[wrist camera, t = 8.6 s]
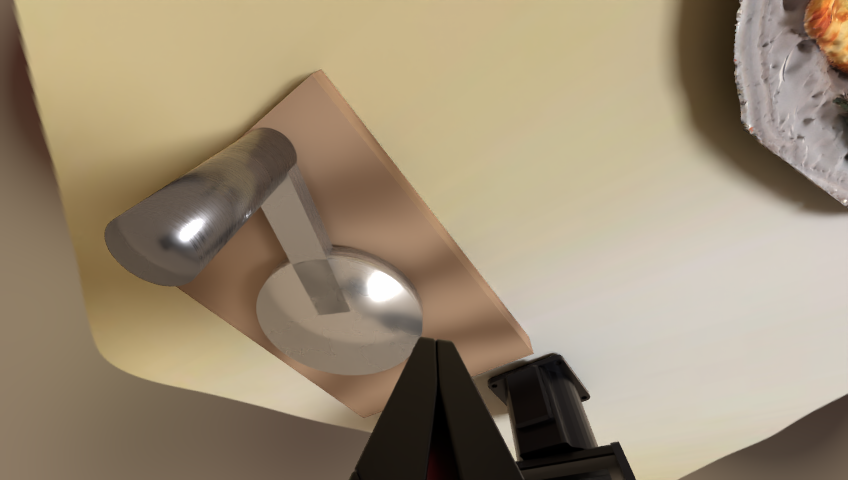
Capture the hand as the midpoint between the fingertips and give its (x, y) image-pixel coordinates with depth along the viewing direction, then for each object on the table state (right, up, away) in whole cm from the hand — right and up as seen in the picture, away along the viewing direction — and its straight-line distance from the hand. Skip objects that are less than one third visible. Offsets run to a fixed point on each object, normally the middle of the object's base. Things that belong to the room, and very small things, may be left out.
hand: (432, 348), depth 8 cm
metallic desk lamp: (-6, +1, +11) cm, 13 cm away
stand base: (-5, -1, +15) cm, 16 cm away
